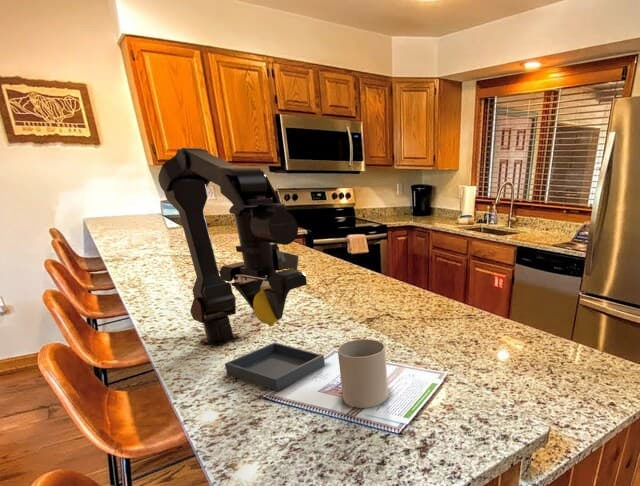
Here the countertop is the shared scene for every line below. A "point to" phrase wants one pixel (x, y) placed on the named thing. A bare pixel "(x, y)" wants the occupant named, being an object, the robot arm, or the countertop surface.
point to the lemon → (263, 309)
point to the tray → (275, 365)
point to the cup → (363, 372)
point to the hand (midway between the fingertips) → (269, 316)
